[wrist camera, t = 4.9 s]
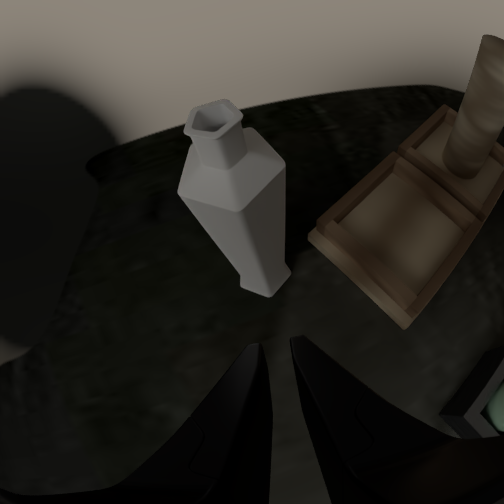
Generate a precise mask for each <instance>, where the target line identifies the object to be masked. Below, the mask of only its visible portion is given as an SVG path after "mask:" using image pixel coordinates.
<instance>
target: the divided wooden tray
mask: <svg viewBox="0 0 504 504" xmlns="http://www.w3.org/2000/svg"><path fill="white" fill-rule="evenodd" d="M457 115H458V113H457V112H456V111H454V110H453V109H451V108H450V107H448V106H447V105H445V104H444V105H443V106H441V107H440V108H439V109H438V110H437V111H436V112H435V113H434V114H433V115H432V116H431V117H430V118H429V119H428V120H426V121H425V122H424V123H423V124H422V125H421V126H420V127H419V128H418V129H417V130H416V131H415V132H413V133H412V134H411V135H410V136H409V137H408V138H407V139H406V140H405V141H404V142H403V143H401V144H400V145H399V147H398V151H397V153H396V152H394V151H393V152H392V153H391V154H389V155H388V156H387V157H386V158H385V159H384V160H383V161H382V162H381V163H380V164H378V165H377V166H376V167H375V168H374V169H373V170H372V171H371V172H370V173H368V174H367V175H366V176H365V177H364V178H363V179H362V180H361V181H360V182H358V183H357V184H356V185H355V186H354V187H353V188H352V189H351V190H350V191H348V192H347V193H346V194H345V195H344V196H343V197H342V198H341V199H340V200H338V201H337V202H336V203H335V204H334V205H333V206H332V207H331V208H329V209H328V210H327V211H326V212H325V213H324V214H323V215H322V216H320V217H319V218H318V219H317V226H316V227H315V228H314V229H313V230H312V231H311V232H310V233H309V234H308V241H309V242H310V243H312V244H313V245H314V246H315V247H316V248H317V249H318V250H319V251H320V252H322V253H323V254H324V255H325V256H326V257H327V258H328V259H329V260H330V261H331V262H332V263H333V264H335V265H336V266H337V267H338V268H339V269H340V270H341V271H342V272H343V273H344V274H345V275H346V276H347V277H349V278H350V279H351V280H352V281H353V282H354V283H355V284H356V285H357V286H358V287H359V288H360V289H361V290H362V291H363V292H364V293H366V294H367V295H368V296H369V297H370V298H371V299H372V300H373V301H374V302H375V303H376V304H377V305H378V306H379V307H380V308H381V309H382V310H383V311H384V312H385V313H386V314H387V315H388V316H389V317H390V318H391V319H392V320H394V321H395V322H396V323H397V324H398V325H399V326H400V327H401V328H402V329H403V330H405V329H406V328H408V327H409V326H410V324H411V323H412V322H413V321H414V320H415V318H416V317H417V316H418V315H419V314H420V312H421V311H422V310H423V309H424V307H425V306H426V305H427V304H428V302H429V301H430V300H431V299H432V297H433V296H434V295H435V293H436V292H437V291H438V289H439V288H440V287H441V285H442V284H443V283H444V281H445V280H446V279H447V277H448V276H449V275H450V273H451V272H452V270H453V269H454V268H455V266H456V265H457V263H458V262H459V261H460V259H461V258H462V256H463V255H464V253H465V252H466V250H467V249H468V247H469V246H470V244H471V243H472V241H473V240H474V238H475V237H476V235H477V234H478V232H479V230H480V229H481V227H482V226H483V224H484V222H485V221H486V219H487V217H488V216H489V214H490V212H491V211H492V209H493V207H494V206H495V204H496V202H497V200H498V199H499V197H500V195H501V193H502V191H503V190H504V168H503V167H501V166H502V165H503V164H504V147H502V146H501V145H500V144H499V143H497V142H495V143H494V145H493V147H492V149H491V151H490V153H489V154H488V156H487V158H486V160H485V162H484V163H483V165H482V167H481V169H480V170H479V172H478V174H477V175H476V177H474V178H473V179H462V178H459V177H457V176H455V175H454V174H452V173H451V172H450V171H449V170H448V169H447V168H446V166H445V165H444V163H443V160H442V152H443V150H444V147H445V145H446V143H447V140H448V138H449V135H450V133H451V130H452V128H453V125H454V122H455V120H456V117H457Z"/></svg>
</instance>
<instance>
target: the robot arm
mask: <svg viewBox="0 0 504 504" xmlns="http://www.w3.org/2000/svg"><path fill="white" fill-rule="evenodd" d="M290 346H291V352H292V359H293V364H294V369H295V375H296V380H297V386H298V391H299V397H300V402H301V407H302V411H303V415H304V418H305V421H306V425H307V428H308V431H309V434H310V437H311V440H312V443H313V447H314V450H315V453H316V456H317V459H318V462H319V465H320V468H321V472H322V475H323V478H324V481H325V484H326V487H327V490H328V494H329V497H330V500H331V503H332V504H504V435H502V436H494V437H485V438H475V439H460V438H456V437H452V436H449V435H447V434H444V433H442V432H440V431H438V430H437V429H435V428H433V427H431V426H429V425H427V424H425V423H424V422H422V421H420V420H418V419H416V418H414V417H413V416H411V415H409V414H407V413H405V412H404V411H402V410H401V409H399V408H397V407H396V406H394V405H392V404H391V403H389V402H388V401H386V400H385V399H384V398H382V397H381V396H380V395H378V394H377V393H376V392H374V391H373V390H372V389H371V388H368V386H367V385H365V384H364V383H363V382H361V381H360V380H359V379H358V378H356V377H355V376H354V375H353V374H351V373H350V372H349V371H348V370H346V369H345V368H344V367H343V366H341V365H340V364H339V363H338V362H336V361H335V360H334V359H333V358H331V357H330V356H329V355H328V354H326V353H325V352H324V351H323V350H322V349H320V348H319V347H318V346H317V345H315V344H314V343H313V342H312V341H310V340H309V339H308V338H307V337H306V336H304V335H300V336H295V337H291V338H290ZM272 429H273V411H272V400H271V391H270V382H269V373H268V367H267V362H266V358H265V354H264V350H263V347H262V344H261V343H257V344H251V345H247V346H246V347H245V348H244V350H243V351H242V352H241V354H240V355H239V356H238V357H237V359H236V360H235V361H234V362H233V364H232V365H231V366H230V368H229V369H228V370H227V371H226V373H225V374H224V375H223V376H222V378H221V379H220V380H219V381H218V383H217V384H216V385H215V386H214V387H213V389H212V390H211V391H210V392H209V394H208V395H207V396H206V397H205V399H204V400H203V401H202V402H201V403H200V405H199V406H198V407H197V408H196V409H195V411H194V412H193V413H192V414H191V417H189V418H188V419H187V420H186V421H185V422H184V424H183V425H182V426H181V427H180V428H179V429H178V430H177V431H176V433H175V434H174V435H173V436H172V437H171V438H170V439H169V440H168V441H167V442H166V443H165V444H164V445H163V446H162V447H161V448H160V449H159V450H157V451H156V452H155V453H154V454H153V455H152V456H151V457H150V458H149V459H147V460H146V461H145V462H144V463H143V464H142V465H141V466H139V467H138V468H137V469H136V470H135V471H134V472H133V473H131V474H130V475H129V476H128V477H127V478H125V479H124V480H123V481H121V482H120V483H118V484H116V485H114V486H112V487H109V488H106V489H101V490H94V491H86V492H77V493H67V494H54V495H21V494H16V493H12V492H9V491H7V490H5V489H2V488H0V504H269V491H270V472H271V451H272Z"/></svg>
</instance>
